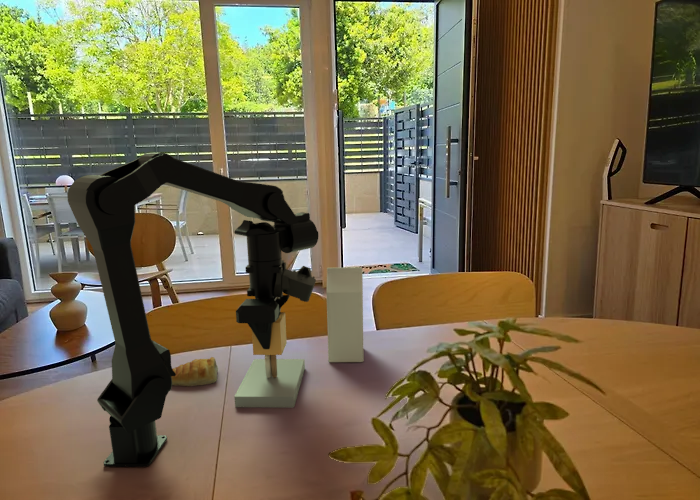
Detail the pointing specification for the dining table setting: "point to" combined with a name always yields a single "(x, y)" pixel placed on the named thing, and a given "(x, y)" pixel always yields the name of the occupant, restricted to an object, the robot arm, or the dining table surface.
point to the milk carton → (345, 314)
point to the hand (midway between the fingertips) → (269, 342)
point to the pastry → (196, 373)
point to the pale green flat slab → (271, 383)
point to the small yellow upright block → (273, 339)
